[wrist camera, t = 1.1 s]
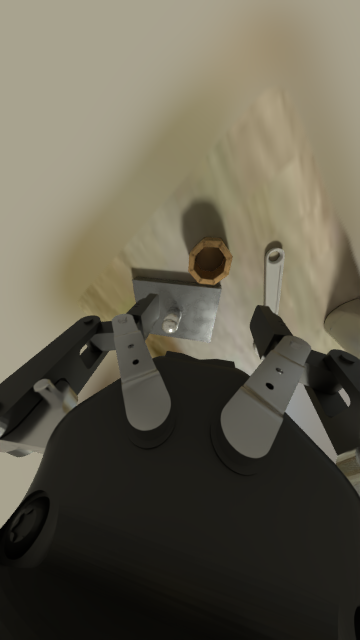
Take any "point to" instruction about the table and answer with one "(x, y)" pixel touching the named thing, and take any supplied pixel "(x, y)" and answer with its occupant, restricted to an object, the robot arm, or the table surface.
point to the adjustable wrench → (273, 282)
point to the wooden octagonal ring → (218, 273)
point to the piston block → (181, 307)
